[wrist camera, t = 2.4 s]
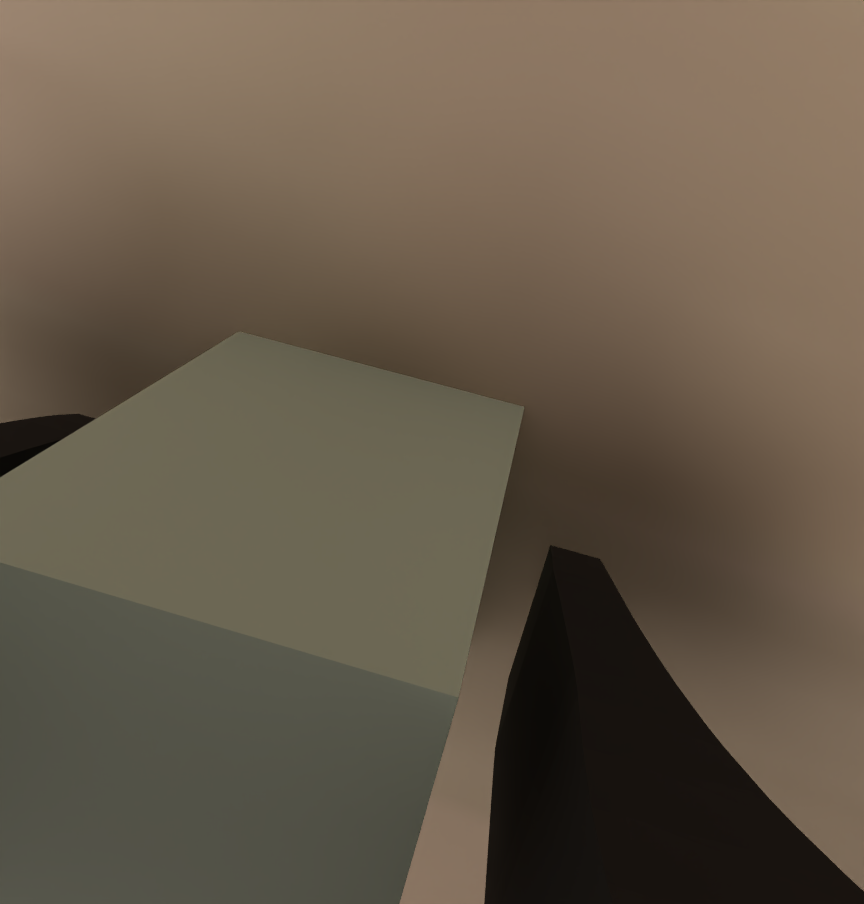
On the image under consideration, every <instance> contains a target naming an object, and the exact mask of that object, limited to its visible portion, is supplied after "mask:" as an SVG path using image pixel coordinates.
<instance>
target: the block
mask: <svg viewBox="0 0 864 904" xmlns="http://www.w3.org/2000/svg"><path fill="white" fill-rule="evenodd" d="M523 412H524V407H523V406H520V405H516V404H512V403H508V402H504V401H501V400H497V399H493V398H489V397H486V396H482V395H478V394H474V393H471V392H467V391H463V390H459V389H455V388H452V387H448V386H444V385H440V384H437V383H433V382H429V381H425V380H421V379H418V378H414V377H410V376H406V375H403V374H399V373H395V372H391V371H388V370H384V369H380V368H376V367H372V366H369V365H365V364H361V363H357V362H354V361H350V360H346V359H342V358H338V357H335V356H331V355H327V354H323V353H320V352H316V351H312V350H308V349H305V348H301V347H297V346H293V345H289V344H286V343H282V342H278V341H274V340H271V339H267V338H263V337H259V336H255V335H252V334H248V333H244V332H240V331H238V332H237V333H235V334H234V335H232V336H230V337H229V338H227V339H225V340H224V341H222V342H220V343H219V344H217V345H216V346H214V347H212V348H211V349H209V350H207V351H206V352H204V353H203V354H201V355H199V356H198V357H196V358H194V359H193V360H191V361H189V362H188V363H186V364H185V365H183V366H181V367H180V368H178V369H176V370H175V371H173V372H171V373H170V374H168V375H167V376H165V377H163V378H162V379H160V380H158V381H157V382H155V383H154V384H152V385H150V386H149V387H147V388H145V389H144V390H142V391H140V392H139V393H137V394H136V395H134V396H132V397H131V398H129V399H127V400H126V401H124V402H123V403H121V404H119V405H118V406H116V407H114V408H113V409H111V410H109V411H108V412H106V413H105V414H103V415H101V416H100V417H98V418H96V419H95V420H93V421H92V422H90V423H88V424H87V425H85V426H83V427H82V428H80V429H78V430H77V431H75V432H74V433H72V434H70V435H69V436H67V437H65V438H64V439H62V440H60V441H59V442H57V443H56V444H54V445H52V446H51V447H49V448H47V449H46V450H44V451H43V452H41V453H39V454H38V455H36V456H34V457H33V458H31V459H29V460H28V461H26V462H25V463H23V464H21V465H20V466H18V467H16V468H15V469H13V470H12V471H10V472H8V473H7V474H5V475H3V476H2V477H0V904H399V903H400V899H401V896H402V892H403V889H404V885H405V882H406V878H407V875H408V871H409V868H410V864H411V861H412V857H413V854H414V850H415V847H416V844H417V840H418V837H419V833H420V830H421V826H422V823H423V819H424V816H425V812H426V809H427V805H428V802H429V798H430V795H431V791H432V788H433V784H434V781H435V777H436V774H437V771H438V767H439V764H440V760H441V757H442V753H443V750H444V746H445V743H446V739H447V736H448V732H449V729H450V725H451V722H452V718H453V715H454V711H455V708H456V705H457V701H458V698H459V693H460V689H461V684H462V680H463V676H464V671H465V667H466V662H467V658H468V654H469V649H470V645H471V640H472V636H473V632H474V627H475V623H476V618H477V614H478V610H479V605H480V601H481V596H482V592H483V588H484V583H485V579H486V574H487V570H488V566H489V561H490V557H491V552H492V548H493V544H494V539H495V535H496V530H497V526H498V522H499V517H500V513H501V508H502V504H503V500H504V495H505V491H506V486H507V482H508V478H509V473H510V469H511V464H512V460H513V456H514V451H515V447H516V442H517V438H518V434H519V429H520V425H521V420H522V416H523Z"/></svg>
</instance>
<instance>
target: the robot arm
mask: <svg viewBox="0 0 864 904" xmlns="http://www.w3.org/2000/svg"><path fill="white" fill-rule="evenodd" d="M93 420H95V418H91V417H88V416H84V415H80V414H67V415H53V416H45V417H37V418H31V419H24V420H18V421H12V422H6V423H0V477H2V476H3V475H5V474H7V473H8V472H10V471H12V470H13V469H15V468H16V467H18V466H20V465H21V464H23V463H25V462H26V461H28V460H29V459H31V458H33V457H34V456H36V455H38V454H39V453H41V452H43V451H44V450H46V449H47V448H49V447H51V446H52V445H54V444H56V443H57V442H59V441H60V440H62V439H64V438H65V437H67V436H69V435H70V434H72V433H74V432H75V431H77V430H78V429H80V428H82V427H83V426H85V425H87V424H88V423H90V422H92V421H93ZM484 904H864V891H863V890H862V889H860V888H859V887H858V886H857V885H856V884H855V883H854V882H853V881H852V880H851V879H850V878H848V877H847V876H846V875H845V874H844V873H843V872H842V871H841V870H840V869H839V868H838V867H837V866H836V865H835V864H834V863H833V862H832V861H831V860H830V859H829V858H828V857H827V856H826V855H825V854H824V853H823V852H822V851H821V850H820V849H819V848H818V847H817V846H816V845H814V844H813V843H812V842H811V841H810V840H809V839H808V838H807V837H806V836H805V835H804V834H803V833H802V832H801V831H800V830H799V829H798V828H797V827H796V826H795V825H794V824H793V823H792V822H791V821H790V820H789V819H788V818H787V817H786V816H785V815H784V814H783V813H782V811H781V810H780V809H779V808H778V807H777V806H776V805H775V804H774V803H773V802H772V801H771V800H770V799H769V798H768V797H767V796H766V795H765V793H764V792H763V791H762V790H761V789H760V788H759V787H758V785H757V784H756V783H755V782H754V781H753V780H752V779H751V777H750V776H749V775H748V774H747V773H746V772H745V771H744V769H743V768H742V767H741V766H740V765H739V764H738V763H737V762H736V760H735V759H734V758H733V757H732V756H731V755H730V754H729V752H728V751H727V750H726V749H725V748H724V746H723V745H722V744H721V743H720V742H719V740H718V739H717V738H716V737H715V735H714V734H713V733H712V732H711V730H710V729H709V728H708V727H707V725H706V724H705V723H704V721H703V720H702V719H701V717H700V716H699V715H698V713H697V712H696V711H695V709H694V708H693V706H692V705H691V704H690V702H689V701H688V700H687V698H686V697H685V696H684V694H683V693H682V692H681V690H680V689H679V687H678V686H677V685H676V683H675V682H674V680H673V679H672V677H671V676H670V674H669V673H668V672H667V670H666V669H665V667H664V666H663V664H662V663H661V661H660V660H659V658H658V657H657V655H656V654H655V652H654V650H653V649H652V647H651V646H650V644H649V643H648V641H647V639H646V638H645V636H644V635H643V633H642V631H641V630H640V628H639V626H638V625H637V623H636V621H635V620H634V618H633V616H632V615H631V613H630V611H629V609H628V608H627V606H626V604H625V602H624V601H623V599H622V597H621V595H620V594H619V592H618V590H617V588H616V586H615V585H614V583H613V581H612V579H611V578H610V576H609V574H608V572H607V570H606V569H605V567H604V565H603V563H602V562H601V560H600V559H598V558H594V557H591V556H587V555H584V554H580V553H576V552H573V551H569V550H566V549H562V548H558V547H555V546H551V545H550V549H549V552H548V555H547V558H546V561H545V564H544V568H543V571H542V574H541V577H540V580H539V583H538V587H537V590H536V593H535V596H534V599H533V602H532V606H531V609H530V612H529V615H528V618H527V621H526V625H525V628H524V631H523V634H522V637H521V640H520V644H519V647H518V650H517V653H516V656H515V659H514V663H513V666H512V669H511V672H510V675H509V679H508V684H507V689H506V694H505V699H504V704H503V710H502V715H501V720H500V725H499V731H498V736H497V741H496V747H495V758H494V771H493V785H492V799H491V814H490V829H489V844H488V859H487V874H486V888H485V903H484Z"/></svg>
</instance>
